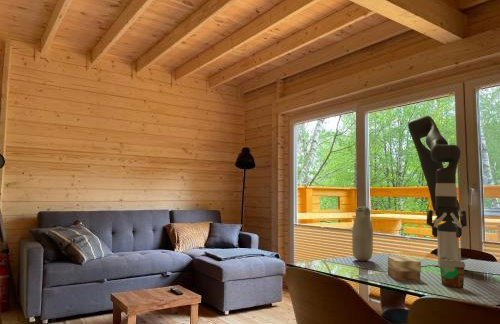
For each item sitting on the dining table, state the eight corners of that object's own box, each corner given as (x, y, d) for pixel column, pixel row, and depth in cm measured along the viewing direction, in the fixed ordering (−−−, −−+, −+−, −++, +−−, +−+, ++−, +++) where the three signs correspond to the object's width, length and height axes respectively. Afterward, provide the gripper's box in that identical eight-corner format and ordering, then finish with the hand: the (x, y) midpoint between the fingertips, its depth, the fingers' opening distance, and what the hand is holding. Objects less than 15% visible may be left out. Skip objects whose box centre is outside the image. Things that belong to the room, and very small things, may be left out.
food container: (431, 281, 159) (431, 256, 160) (446, 281, 160) (446, 256, 160) (449, 289, 147) (449, 261, 148) (465, 289, 147) (465, 261, 148)
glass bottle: (349, 260, 206) (349, 206, 208) (358, 258, 213) (358, 205, 216) (367, 263, 199) (367, 206, 201) (376, 260, 207) (375, 206, 209)
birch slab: (411, 266, 171) (411, 257, 171) (420, 271, 161) (420, 261, 161) (388, 266, 171) (387, 256, 172) (395, 271, 161) (395, 261, 162)
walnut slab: (411, 276, 171) (411, 267, 171) (420, 281, 161) (420, 271, 161) (387, 275, 171) (387, 266, 171) (395, 281, 161) (394, 270, 161)
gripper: (460, 195, 159) (461, 236, 158) (423, 194, 160) (424, 235, 159) (469, 195, 152) (470, 238, 151) (430, 194, 153) (431, 237, 151)
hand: (446, 237), depth 155 cm, fingers open, 8 cm apart
